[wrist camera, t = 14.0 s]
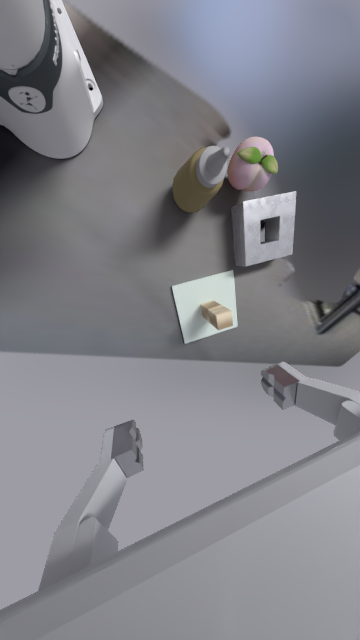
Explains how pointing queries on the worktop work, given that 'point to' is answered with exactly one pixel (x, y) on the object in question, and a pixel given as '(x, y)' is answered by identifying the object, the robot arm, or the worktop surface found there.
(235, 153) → the decorative fruit
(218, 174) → the squeeze bottle
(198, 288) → the sage pad
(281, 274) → the worktop surface
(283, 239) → the aluminium socket block
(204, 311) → the birch peg
